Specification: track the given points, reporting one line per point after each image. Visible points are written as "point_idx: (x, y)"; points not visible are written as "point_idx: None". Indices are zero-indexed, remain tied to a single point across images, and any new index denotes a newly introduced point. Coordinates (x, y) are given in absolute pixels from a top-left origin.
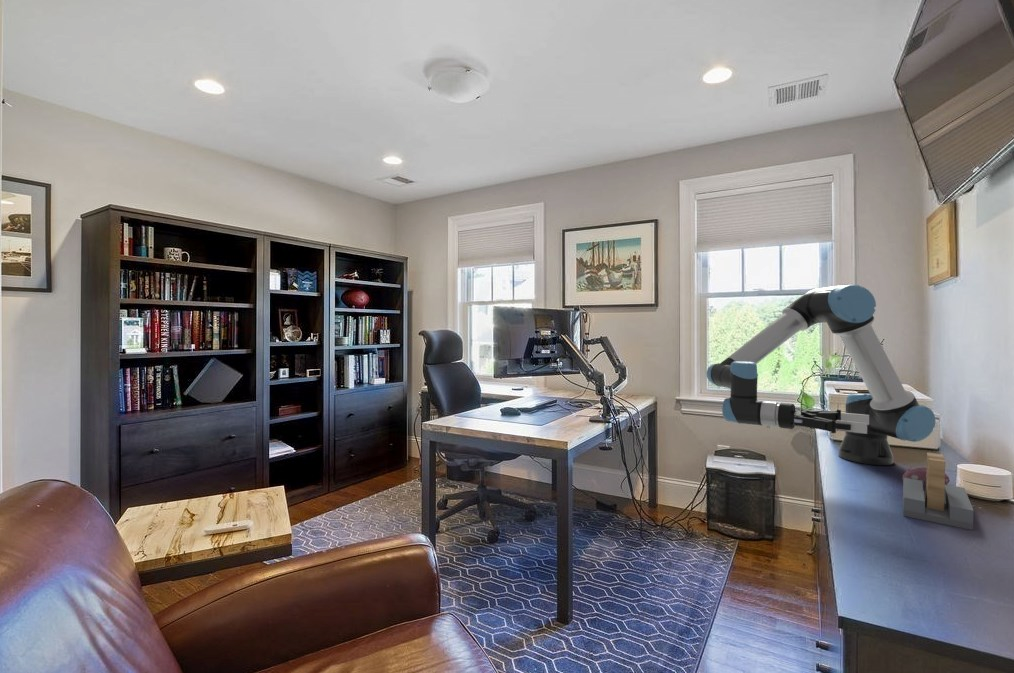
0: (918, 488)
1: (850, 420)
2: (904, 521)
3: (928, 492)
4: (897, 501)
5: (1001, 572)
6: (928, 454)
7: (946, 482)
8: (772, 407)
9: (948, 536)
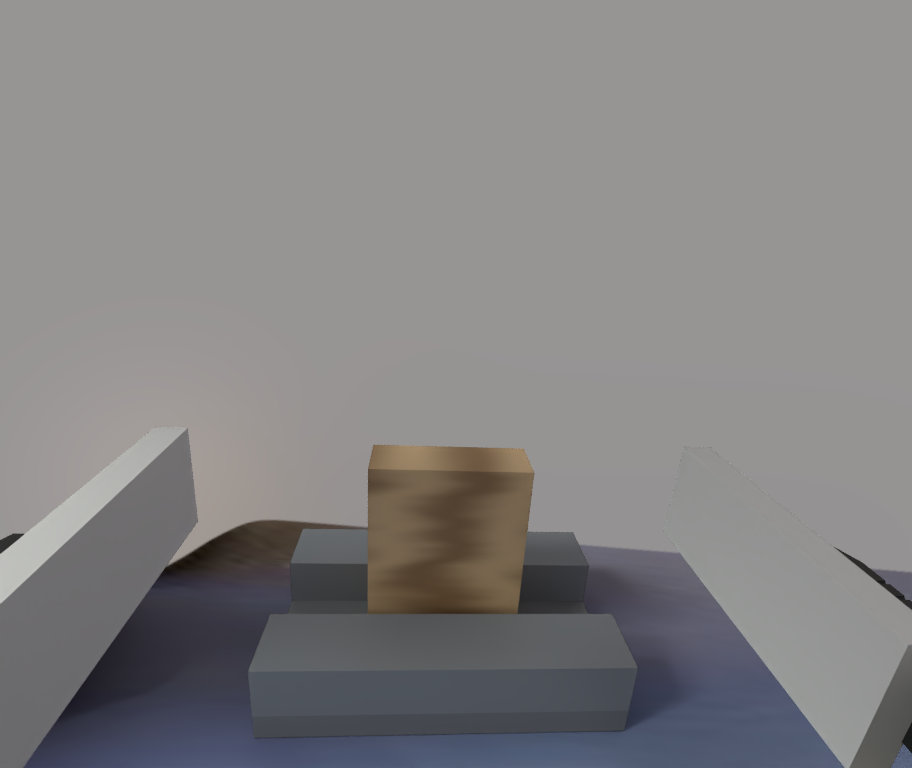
0: (427, 626)
1: (95, 625)
2: (694, 726)
3: (519, 592)
4: (416, 757)
5: None
6: (421, 468)
7: None
8: None
9: (693, 626)
